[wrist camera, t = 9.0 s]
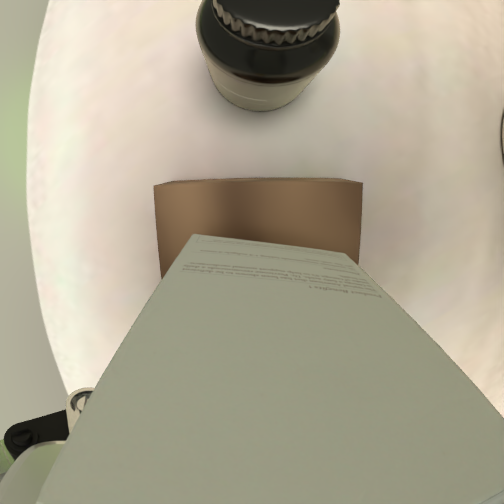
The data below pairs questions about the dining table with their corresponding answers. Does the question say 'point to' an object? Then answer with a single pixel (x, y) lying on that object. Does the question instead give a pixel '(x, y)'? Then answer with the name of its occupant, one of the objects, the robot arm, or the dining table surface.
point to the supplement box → (278, 394)
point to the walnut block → (260, 213)
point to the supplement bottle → (266, 47)
